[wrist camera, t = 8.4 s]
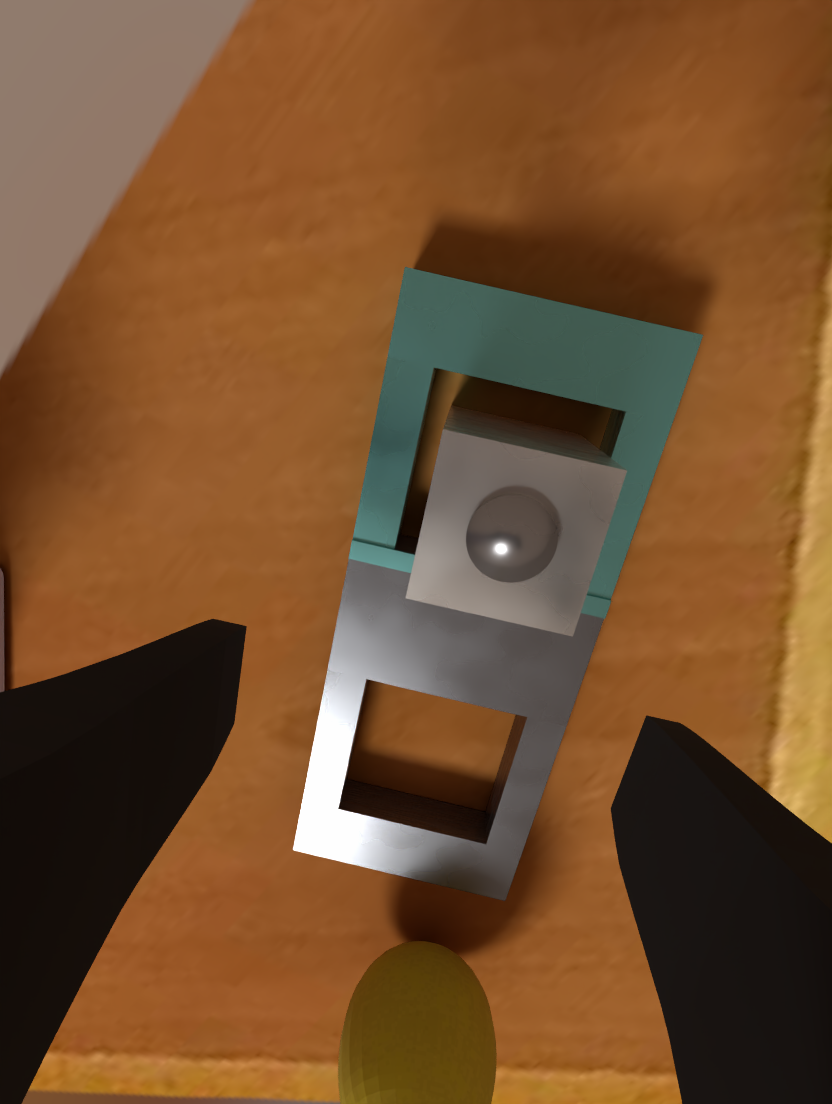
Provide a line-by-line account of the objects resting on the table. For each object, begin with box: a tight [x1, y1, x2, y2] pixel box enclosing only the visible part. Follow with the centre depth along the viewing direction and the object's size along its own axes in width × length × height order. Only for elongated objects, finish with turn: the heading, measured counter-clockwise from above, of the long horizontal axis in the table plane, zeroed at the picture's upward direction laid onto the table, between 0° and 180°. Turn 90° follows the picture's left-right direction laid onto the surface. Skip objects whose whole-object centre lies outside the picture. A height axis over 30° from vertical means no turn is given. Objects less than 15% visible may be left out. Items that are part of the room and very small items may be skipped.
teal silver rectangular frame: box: [293, 267, 703, 901], centre depth 20 cm, size 8×20×2 cm, turn 168°
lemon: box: [338, 941, 496, 1104], centre depth 22 cm, size 6×6×8 cm
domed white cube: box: [406, 405, 627, 636], centre depth 16 cm, size 4×4×6 cm
